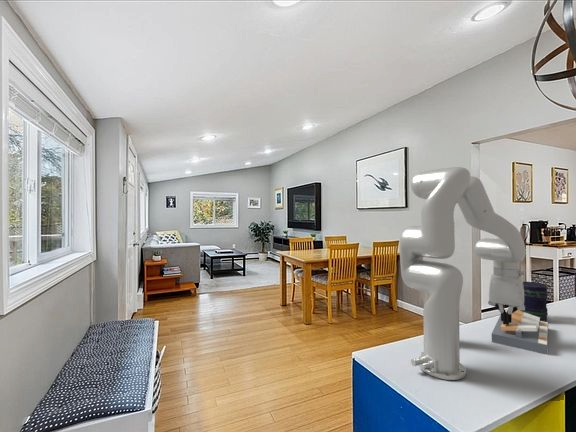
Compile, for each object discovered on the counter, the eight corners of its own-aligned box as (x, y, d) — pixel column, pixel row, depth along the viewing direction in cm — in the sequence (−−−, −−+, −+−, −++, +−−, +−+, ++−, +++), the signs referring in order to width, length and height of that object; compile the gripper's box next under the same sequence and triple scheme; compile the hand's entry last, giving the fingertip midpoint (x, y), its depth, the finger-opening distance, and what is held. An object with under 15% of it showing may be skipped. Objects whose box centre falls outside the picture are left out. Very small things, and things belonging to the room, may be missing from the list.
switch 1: (538, 325, 112) (539, 320, 112) (506, 314, 119) (507, 309, 118) (538, 322, 116) (539, 317, 115) (507, 311, 122) (508, 306, 122)
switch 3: (537, 333, 100) (536, 327, 100) (502, 332, 107) (500, 326, 107) (538, 329, 103) (536, 323, 104) (503, 328, 110) (502, 323, 110)
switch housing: (547, 354, 96) (547, 339, 96) (491, 341, 106) (491, 327, 106) (548, 329, 116) (548, 317, 116) (501, 321, 126) (500, 309, 126)
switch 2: (537, 332, 106) (538, 327, 106) (503, 320, 113) (505, 315, 112) (537, 328, 110) (539, 323, 109) (505, 316, 116) (506, 311, 116)
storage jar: (512, 317, 130) (512, 282, 130) (526, 313, 134) (526, 280, 134) (539, 324, 121) (539, 288, 121) (553, 321, 125) (552, 285, 125)
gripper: (533, 273, 105) (533, 325, 105) (483, 268, 115) (483, 316, 115) (532, 277, 99) (532, 332, 100) (479, 271, 109) (479, 321, 109)
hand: (506, 323), depth 107 cm, fingers closed
